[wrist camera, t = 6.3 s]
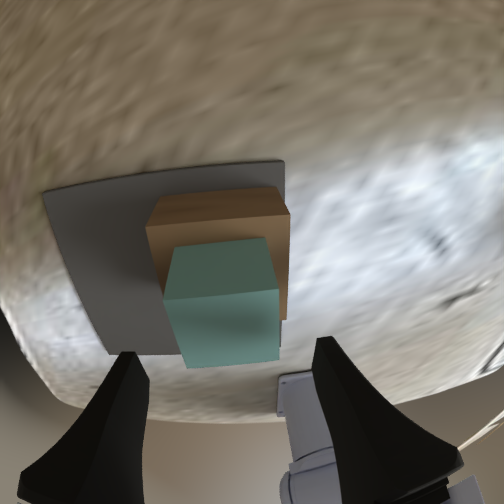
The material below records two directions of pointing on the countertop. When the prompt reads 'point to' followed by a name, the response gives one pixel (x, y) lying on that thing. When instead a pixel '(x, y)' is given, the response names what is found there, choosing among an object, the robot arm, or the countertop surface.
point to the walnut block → (222, 227)
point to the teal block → (224, 303)
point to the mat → (134, 246)
